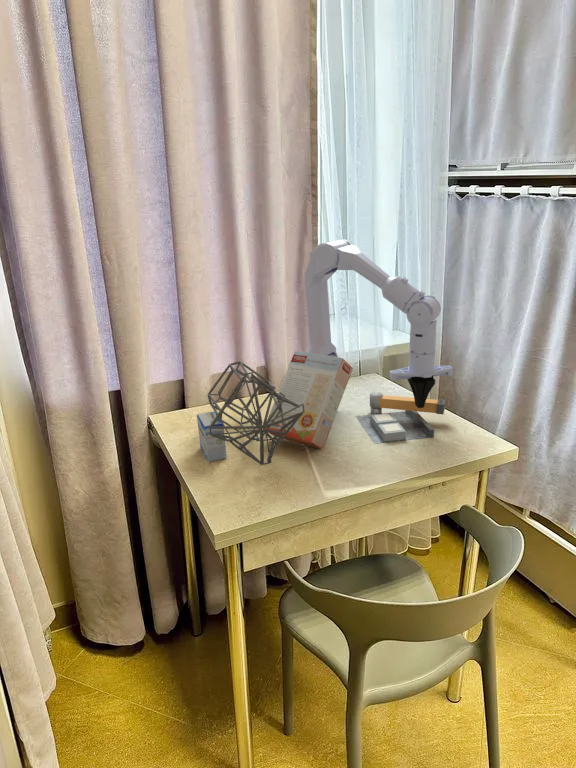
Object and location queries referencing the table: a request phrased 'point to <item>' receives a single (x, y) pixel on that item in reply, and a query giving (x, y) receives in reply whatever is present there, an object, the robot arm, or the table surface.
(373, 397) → the swing bar
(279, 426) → the cracker box
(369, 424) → the tray
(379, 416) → the block
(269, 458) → the geometric lantern
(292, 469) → the table surface
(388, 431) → the module
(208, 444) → the medicine box
